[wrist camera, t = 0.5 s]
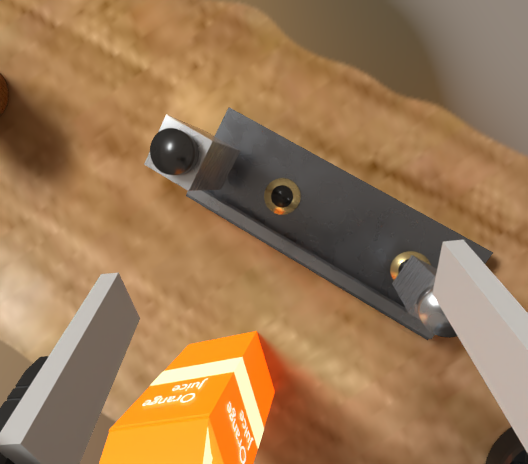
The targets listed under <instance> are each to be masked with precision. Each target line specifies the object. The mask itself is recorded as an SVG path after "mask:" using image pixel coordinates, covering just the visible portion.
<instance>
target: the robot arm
mask: <svg viewBox="0 0 528 464" xmlns="http://www.w3.org/2000/svg"><path fill="white" fill-rule="evenodd" d="M432 294H433V295H434V297H435V299H436V300H437V302H438V304H439V306H440V307H441V309H442V311H443V312H444V314H445V316H446V317H447V319H448V321H449V322H450V324H451V326H452V327H453V329H454V331H455V332H456V334H457V336H458V337H459V339H460V341H461V342H462V344H463V346H464V347H465V349H466V351H467V352H468V354H469V356H470V358H471V359H472V361H473V363H474V364H475V366H476V368H477V369H478V371H479V373H480V374H481V376H482V378H483V379H484V381H485V383H486V384H487V386H488V388H489V389H490V391H491V393H492V394H493V396H494V398H495V399H496V401H497V403H498V405H499V406H500V408H501V410H502V411H503V413H504V415H505V416H506V418H507V420H508V421H509V423H510V425H511V426H512V427H511V428H509V429H508V430H507V431H506V432H504V433H503V434H502V435H501V436H500V437H499V438H498V440H497V441H496V442H495V443H494V445H493V447H492V448H491V450H490V452H489V454H488V457H487V460H486V464H528V313H527V312H526V311H525V310H524V308H523V307H522V306H521V305H520V304H519V303H518V302H517V300H516V299H515V298H514V297H513V296H512V295H511V294H510V292H509V291H508V290H507V289H506V288H505V287H504V286H503V284H502V283H501V282H500V281H499V280H498V279H497V278H496V276H495V275H494V274H493V273H492V272H491V271H490V270H489V268H488V267H487V266H486V265H485V264H484V263H483V262H482V260H481V259H480V258H479V257H478V256H477V255H476V254H475V252H474V251H473V250H472V249H471V248H470V247H469V246H468V244H467V243H466V242H465V241H464V240H454V241H444V242H443V243H442V248H441V253H440V258H439V263H438V268H437V273H436V278H435V283H434V288H433V293H432ZM139 320H140V317H139V315H138V313H137V311H136V309H135V307H134V305H133V302H132V300H131V298H130V296H129V294H128V292H127V290H126V288H125V285H124V283H123V281H122V279H121V277H120V275H119V273H110V274H101V275H100V277H99V278H98V280H97V281H96V283H95V285H94V286H93V288H92V289H91V291H90V292H89V294H88V296H87V297H86V299H85V300H84V302H83V303H82V305H81V307H80V308H79V310H78V311H77V313H76V314H75V316H74V317H73V319H72V321H71V322H70V324H69V325H68V327H67V328H66V330H65V332H64V333H63V335H62V336H61V338H60V339H59V341H58V343H57V344H56V346H55V347H54V349H53V350H52V352H51V354H50V355H49V356H45V357H40V358H39V359H38V360H36V361H35V362H34V363H33V364H32V365H31V366H30V367H29V368H28V369H27V370H26V371H25V372H24V374H23V375H22V377H21V379H20V380H19V381H18V383H17V384H16V388H15V389H13V390H12V392H11V393H10V395H9V396H8V398H7V401H5V402H4V403H3V405H2V406H1V408H0V464H80V461H81V459H82V456H83V454H84V452H85V449H86V447H87V444H88V442H89V440H90V437H91V435H92V432H93V430H94V428H95V425H96V423H97V420H98V418H99V415H100V413H101V411H102V408H103V406H104V404H105V401H106V399H107V396H108V394H109V392H110V389H111V387H112V384H113V382H114V380H115V377H116V375H117V372H118V370H119V368H120V365H121V363H122V360H123V358H124V356H125V353H126V351H127V348H128V346H129V344H130V341H131V339H132V336H133V334H134V332H135V329H136V327H137V324H138V322H139Z"/></svg>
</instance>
